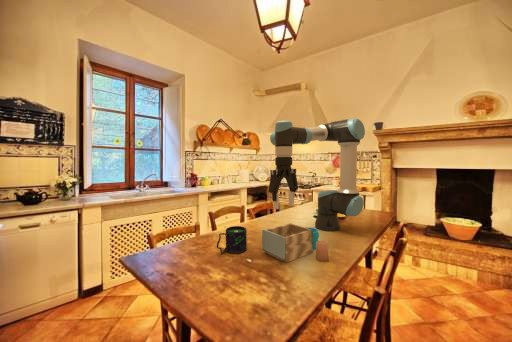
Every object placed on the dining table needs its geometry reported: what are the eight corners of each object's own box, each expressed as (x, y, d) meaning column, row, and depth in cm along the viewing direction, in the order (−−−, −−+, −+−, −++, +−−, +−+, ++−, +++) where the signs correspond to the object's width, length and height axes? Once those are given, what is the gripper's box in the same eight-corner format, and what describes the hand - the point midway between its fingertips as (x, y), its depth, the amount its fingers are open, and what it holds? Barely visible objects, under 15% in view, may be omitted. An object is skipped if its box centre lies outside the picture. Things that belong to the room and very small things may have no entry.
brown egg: (320, 255, 102) (320, 240, 102) (330, 259, 98) (330, 243, 98) (313, 258, 99) (313, 242, 99) (323, 262, 95) (323, 246, 95)
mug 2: (311, 251, 107) (311, 233, 107) (297, 246, 113) (297, 230, 113) (325, 244, 115) (325, 228, 115) (311, 240, 121) (311, 225, 121)
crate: (290, 243, 117) (290, 223, 116) (312, 252, 106) (312, 230, 105) (264, 251, 106) (264, 229, 106) (286, 262, 95) (286, 237, 95)
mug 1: (241, 244, 116) (241, 224, 116) (250, 251, 107) (250, 230, 107) (212, 250, 109) (211, 229, 109) (218, 258, 100) (218, 235, 100)
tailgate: (264, 250, 106) (263, 229, 106) (285, 260, 95) (285, 237, 95) (262, 250, 106) (262, 229, 105) (283, 261, 94) (283, 237, 94)
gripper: (294, 156, 111) (294, 202, 113) (259, 156, 98) (259, 208, 100) (306, 156, 105) (306, 205, 107) (270, 156, 93) (271, 212, 94)
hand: (283, 207), depth 103 cm, fingers open, 9 cm apart
